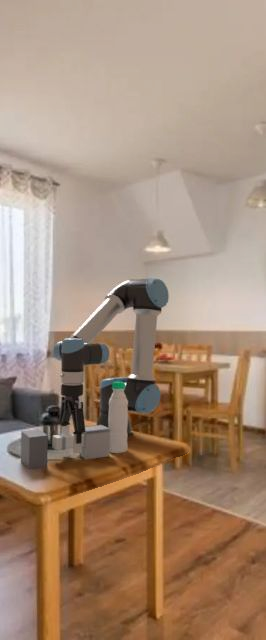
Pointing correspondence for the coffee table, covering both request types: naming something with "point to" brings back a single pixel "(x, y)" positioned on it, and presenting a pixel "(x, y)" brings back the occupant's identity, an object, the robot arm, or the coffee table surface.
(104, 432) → the sleeve
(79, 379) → the robot arm
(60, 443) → the tube
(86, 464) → the coffee table surface
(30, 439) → the socket fitting
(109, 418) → the water bottle
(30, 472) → the coffee table surface
